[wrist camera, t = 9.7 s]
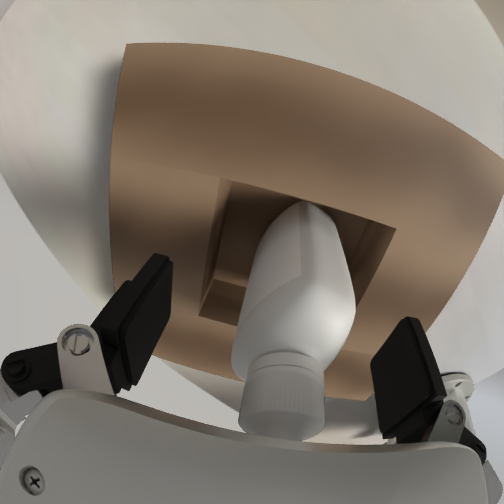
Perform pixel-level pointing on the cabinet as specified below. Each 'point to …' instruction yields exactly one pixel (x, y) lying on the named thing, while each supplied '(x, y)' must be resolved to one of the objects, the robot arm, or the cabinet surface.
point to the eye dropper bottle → (292, 324)
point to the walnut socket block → (288, 193)
